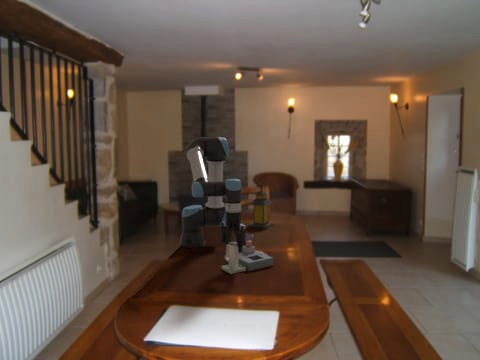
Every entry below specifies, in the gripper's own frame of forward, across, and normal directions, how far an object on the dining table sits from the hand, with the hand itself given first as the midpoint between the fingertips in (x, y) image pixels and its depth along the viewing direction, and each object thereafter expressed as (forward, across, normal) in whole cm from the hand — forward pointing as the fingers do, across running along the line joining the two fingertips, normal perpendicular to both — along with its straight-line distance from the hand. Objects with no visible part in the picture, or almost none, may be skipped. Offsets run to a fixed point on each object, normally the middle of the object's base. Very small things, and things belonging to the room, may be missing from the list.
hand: (233, 257), depth 202 cm
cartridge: (+5, 0, 0) cm, 5 cm away
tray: (+6, 0, 0) cm, 6 cm away
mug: (+6, -11, +26) cm, 28 cm away
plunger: (+1, -4, +18) cm, 18 cm away
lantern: (+6, -42, +89) cm, 99 cm away
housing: (+6, +1, +13) cm, 15 cm away
